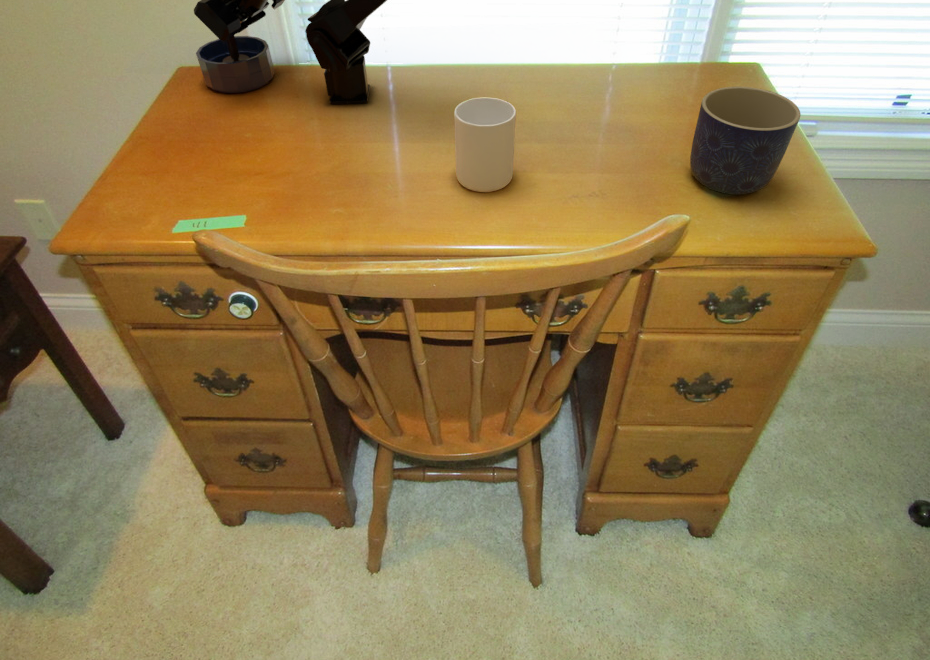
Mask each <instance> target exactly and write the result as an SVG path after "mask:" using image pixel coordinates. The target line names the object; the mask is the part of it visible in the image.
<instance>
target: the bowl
mask: <svg viewBox="0 0 930 660" xmlns="http://www.w3.org/2000/svg"><path fill="white" fill-rule="evenodd" d="M234 37H235V40H236V44H237V48H238V51H239V54H242V55H247V56H249V59H246V60H241V61H236V62H224V63H223V59H224V58H226V57H228V56H230V53H229V50H228V46H227V42H226V41H222V40H220V39H219V38H217V39H214V40H211V41H208V42H206V43H205V44H203V45H201V46H199V47H198V49H197V50H196V52H195V55H196V58H197V62H198V65H199V68H200V72H201V75H202V78H203V81H204V84H205V86H206V87H208V88H210V89H211V90H213V91H216V92H218V93H222V94H223V93H224V94H241V93H248V92H252V91H255V90H258V89H260V88H262V87H264V86H266V85H267V84H268V83H270V82H271V80H272V79H273V77H274V75H275V72H276V71H275V68H274V63H273V59H272V55H271V51H270V46H269V44H268V43H267V41H266V40H265V39H262V38H260V37H257V36H250V35H234Z"/></svg>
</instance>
